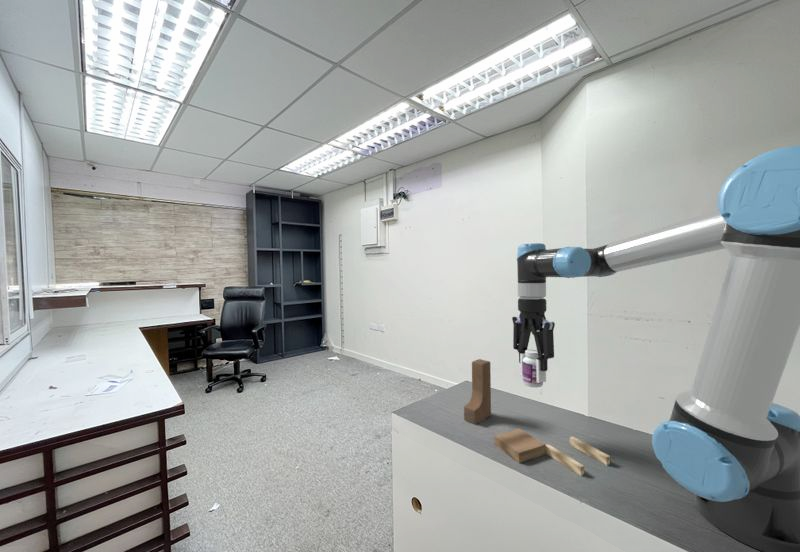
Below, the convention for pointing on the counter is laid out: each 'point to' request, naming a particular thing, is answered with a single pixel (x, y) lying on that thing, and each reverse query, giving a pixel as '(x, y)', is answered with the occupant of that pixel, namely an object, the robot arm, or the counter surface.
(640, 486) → the counter surface
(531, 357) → the pill bottle
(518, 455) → the pedestal
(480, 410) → the wooden block
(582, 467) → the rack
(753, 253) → the robot arm
